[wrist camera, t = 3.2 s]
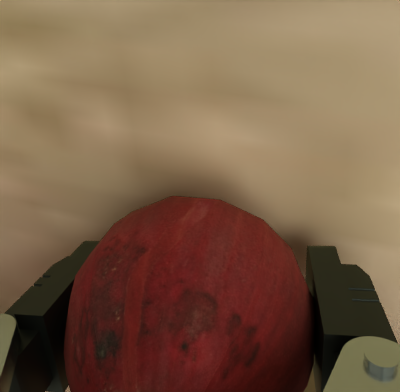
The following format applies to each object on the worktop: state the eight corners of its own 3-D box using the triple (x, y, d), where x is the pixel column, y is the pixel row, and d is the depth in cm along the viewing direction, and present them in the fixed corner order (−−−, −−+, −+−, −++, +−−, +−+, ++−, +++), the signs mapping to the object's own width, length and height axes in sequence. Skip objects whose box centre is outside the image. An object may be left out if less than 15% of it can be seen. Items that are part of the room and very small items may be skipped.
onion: (99, 201, 13) (-131, 410, 5) (257, 129, 11) (230, 299, 4) (178, 332, 14) (80, 635, 7) (329, 288, 12) (410, 635, 5)
